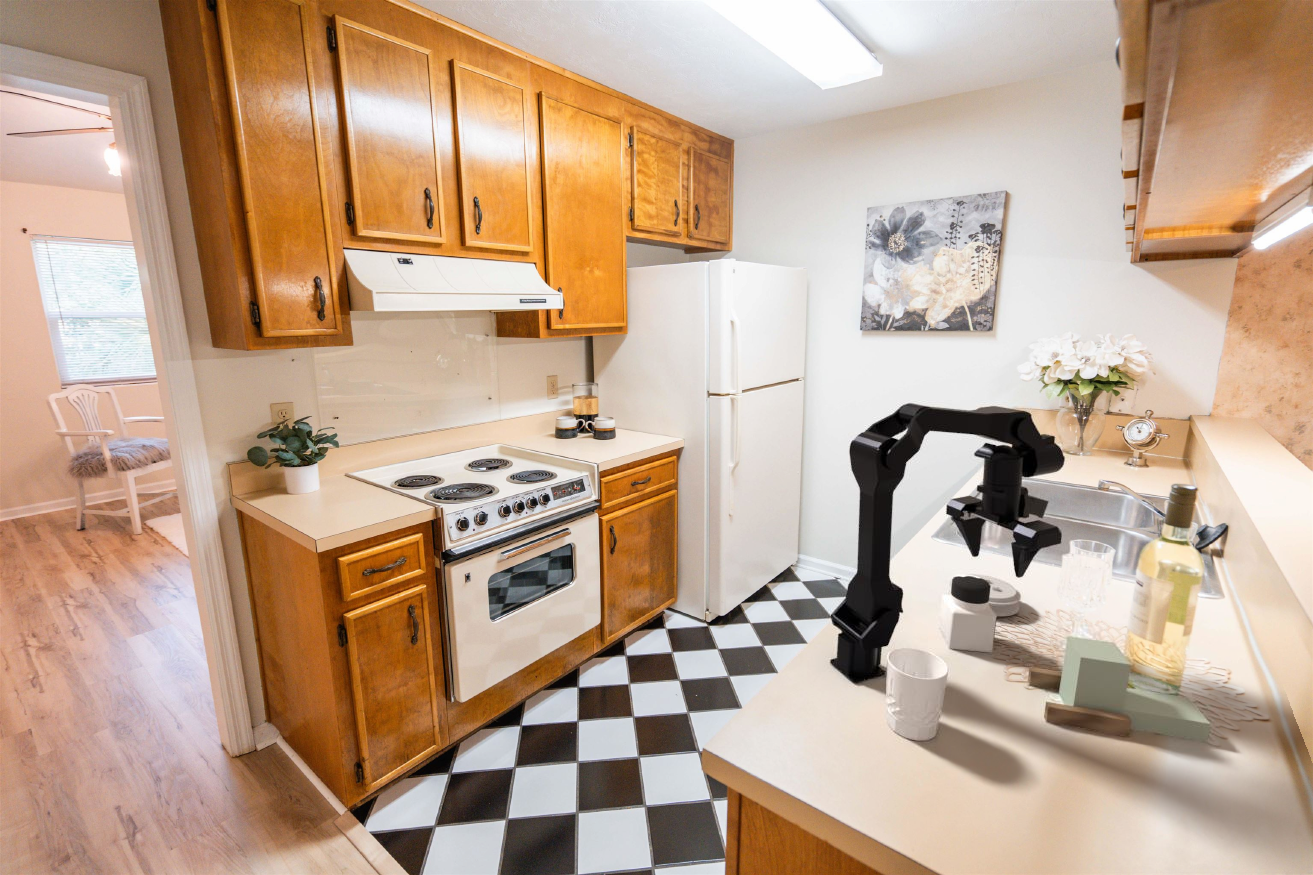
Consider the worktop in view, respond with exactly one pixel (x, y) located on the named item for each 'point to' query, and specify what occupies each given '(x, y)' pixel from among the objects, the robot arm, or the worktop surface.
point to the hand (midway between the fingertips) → (996, 566)
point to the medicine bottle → (968, 615)
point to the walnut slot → (1077, 708)
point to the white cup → (915, 692)
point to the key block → (1124, 692)
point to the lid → (1000, 596)
